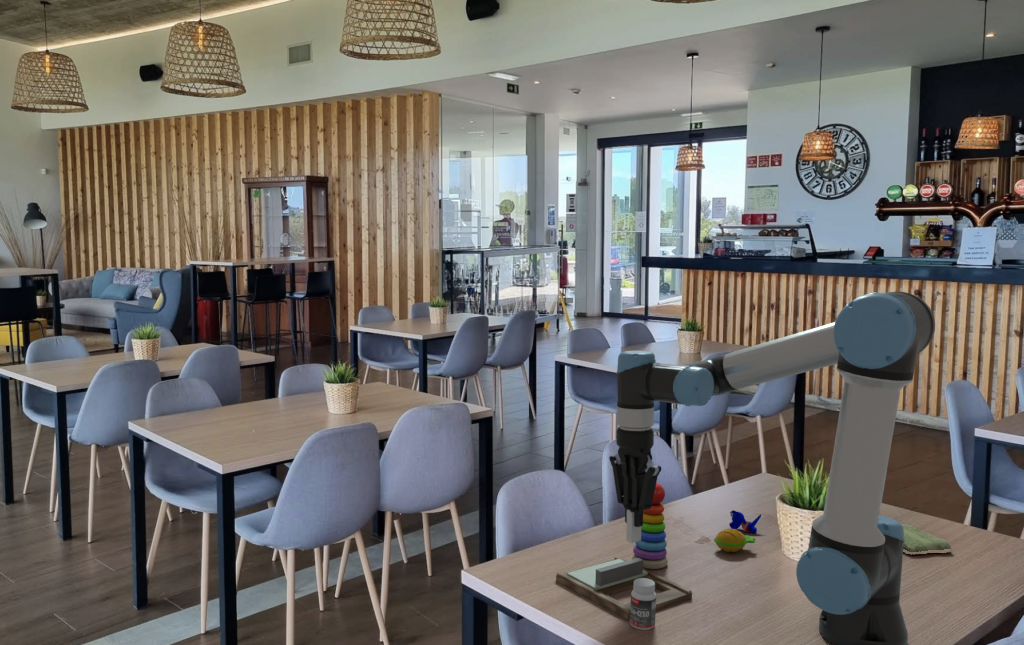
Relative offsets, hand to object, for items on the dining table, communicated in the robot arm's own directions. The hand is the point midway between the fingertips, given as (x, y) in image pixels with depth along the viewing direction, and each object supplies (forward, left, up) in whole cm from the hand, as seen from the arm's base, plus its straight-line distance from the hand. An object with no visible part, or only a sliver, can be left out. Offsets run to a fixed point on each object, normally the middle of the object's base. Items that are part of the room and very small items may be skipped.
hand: (633, 540), depth 167 cm
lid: (+7, 0, -10) cm, 12 cm away
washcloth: (-15, -79, -12) cm, 81 cm away
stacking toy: (+10, -15, -12) cm, 21 cm away
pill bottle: (-11, +8, -12) cm, 18 cm away
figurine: (+13, -52, -12) cm, 55 cm away
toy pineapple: (+5, -38, -12) cm, 40 cm away
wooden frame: (+3, 0, -11) cm, 12 cm away
